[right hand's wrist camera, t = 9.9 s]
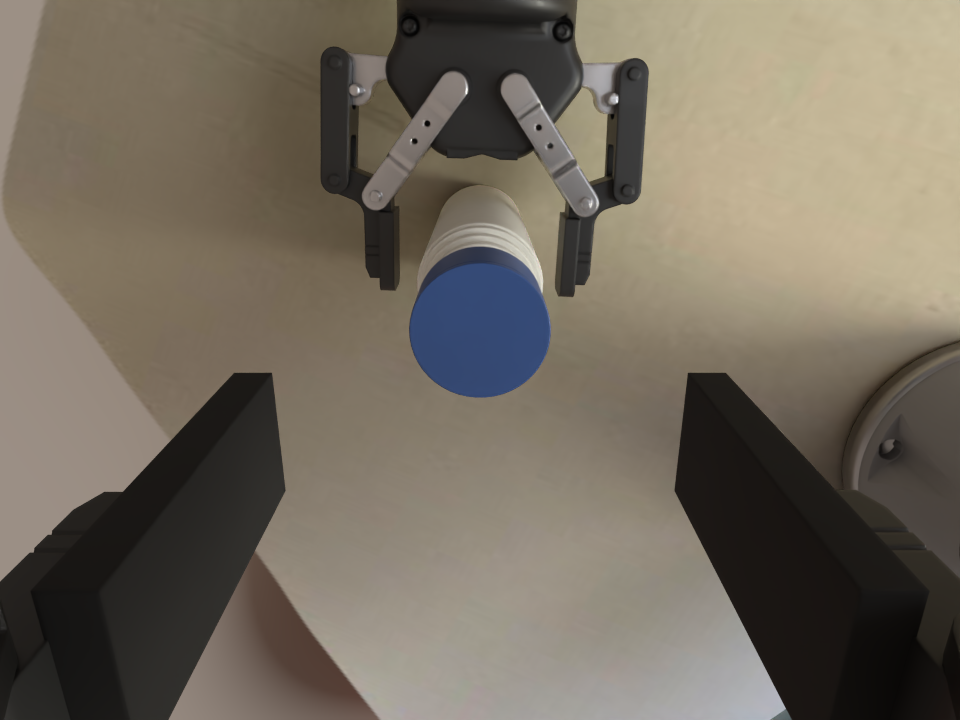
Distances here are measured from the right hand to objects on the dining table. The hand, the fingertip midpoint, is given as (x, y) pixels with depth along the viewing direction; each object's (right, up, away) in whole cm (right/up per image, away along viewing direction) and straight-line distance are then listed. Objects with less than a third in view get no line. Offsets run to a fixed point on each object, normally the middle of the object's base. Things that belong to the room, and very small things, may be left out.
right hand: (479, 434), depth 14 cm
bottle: (0, +9, +24) cm, 26 cm away
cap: (0, +2, +7) cm, 7 cm away
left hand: (0, +5, +19) cm, 19 cm away
